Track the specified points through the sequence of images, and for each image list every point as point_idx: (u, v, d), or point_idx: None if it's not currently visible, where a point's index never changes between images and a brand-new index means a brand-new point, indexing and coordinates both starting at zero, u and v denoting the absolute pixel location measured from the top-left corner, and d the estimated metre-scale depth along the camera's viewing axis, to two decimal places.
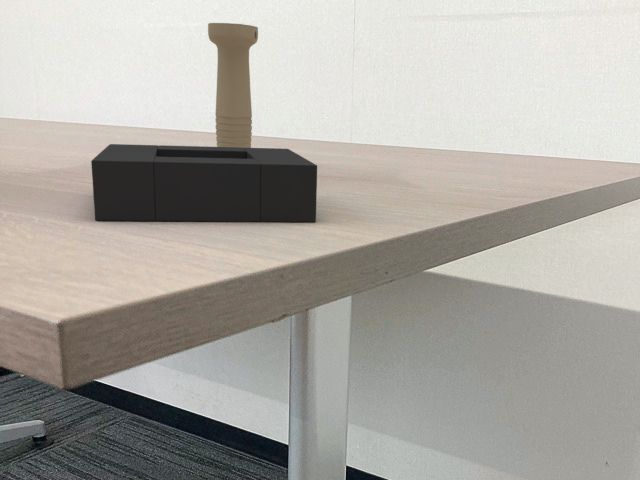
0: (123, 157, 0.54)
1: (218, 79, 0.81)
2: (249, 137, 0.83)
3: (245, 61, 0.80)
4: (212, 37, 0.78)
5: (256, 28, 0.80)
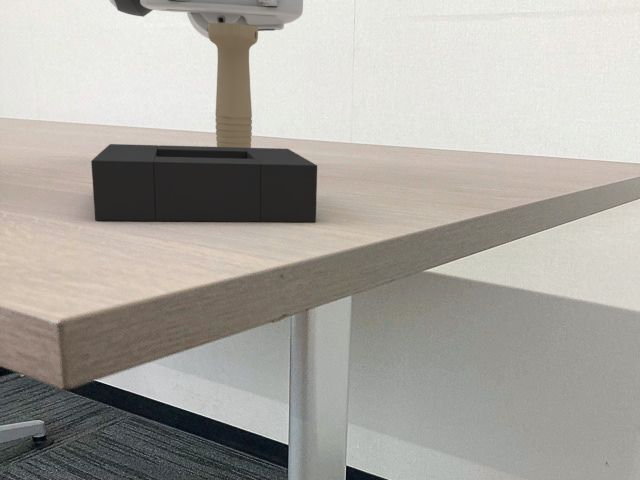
0: (123, 157, 0.54)
1: (218, 79, 0.81)
2: (249, 137, 0.83)
3: (245, 61, 0.80)
4: (212, 37, 0.78)
5: (256, 28, 0.80)
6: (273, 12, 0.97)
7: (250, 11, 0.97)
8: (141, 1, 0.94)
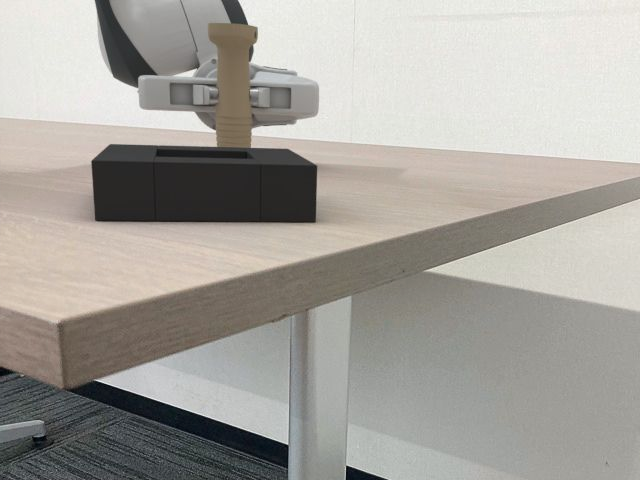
0: (123, 157, 0.54)
1: (218, 79, 0.81)
2: (249, 137, 0.83)
3: (245, 61, 0.80)
4: (212, 37, 0.78)
5: (256, 28, 0.80)
6: (286, 113, 0.88)
7: (261, 113, 0.87)
8: (140, 105, 0.85)
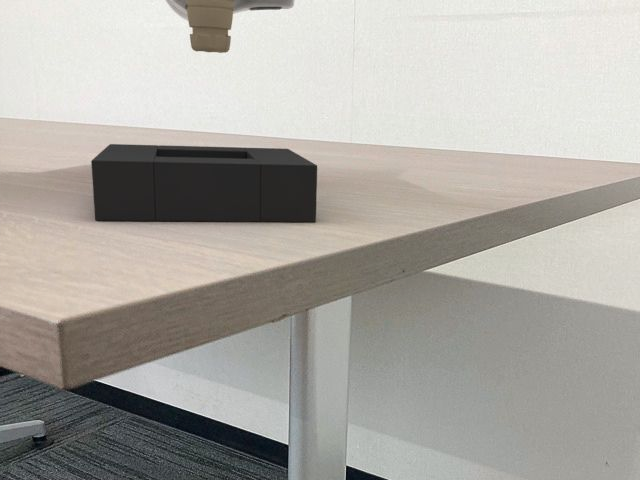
0: (123, 157, 0.54)
1: None
2: (230, 1, 0.62)
3: None
4: None
5: None
6: None
7: None
8: None
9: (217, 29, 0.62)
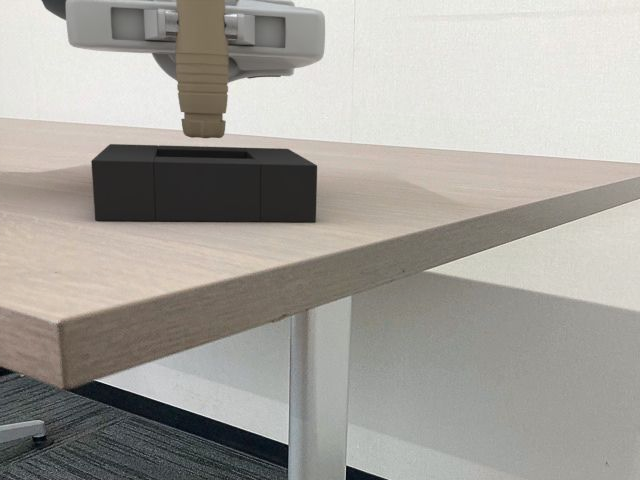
0: (123, 157, 0.54)
1: None
2: (225, 84, 0.58)
3: None
4: None
5: None
6: (279, 55, 0.62)
7: (243, 54, 0.62)
8: (70, 40, 0.59)
9: (210, 115, 0.57)
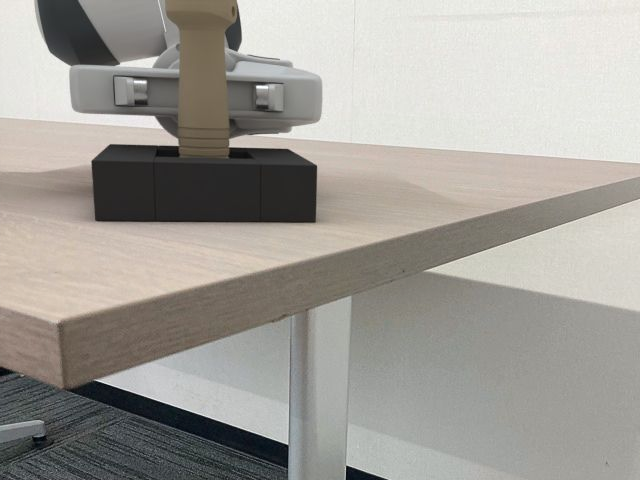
0: (123, 157, 0.54)
1: (180, 74, 0.57)
2: (226, 156, 0.59)
3: (219, 49, 0.56)
4: (170, 14, 0.54)
5: (234, 2, 0.56)
6: (277, 119, 0.64)
7: (242, 118, 0.63)
8: (73, 106, 0.61)
9: None
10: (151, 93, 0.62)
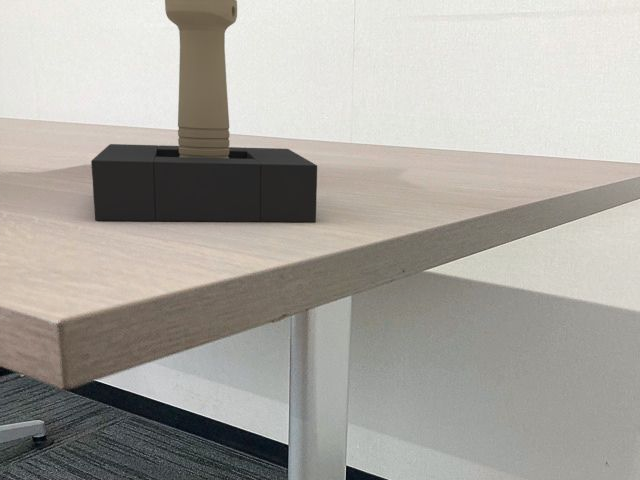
0: (123, 157, 0.54)
1: (180, 74, 0.57)
2: (226, 156, 0.59)
3: (219, 49, 0.56)
4: (170, 14, 0.54)
5: (234, 2, 0.56)
6: None
7: None
8: None
9: None
10: None
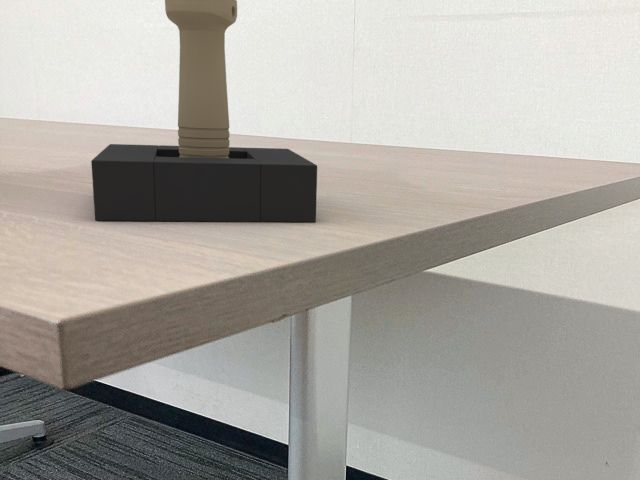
0: (123, 157, 0.54)
1: (180, 74, 0.57)
2: (226, 156, 0.59)
3: (219, 49, 0.56)
4: (170, 14, 0.54)
5: (234, 2, 0.56)
6: None
7: None
8: None
9: None
10: None
